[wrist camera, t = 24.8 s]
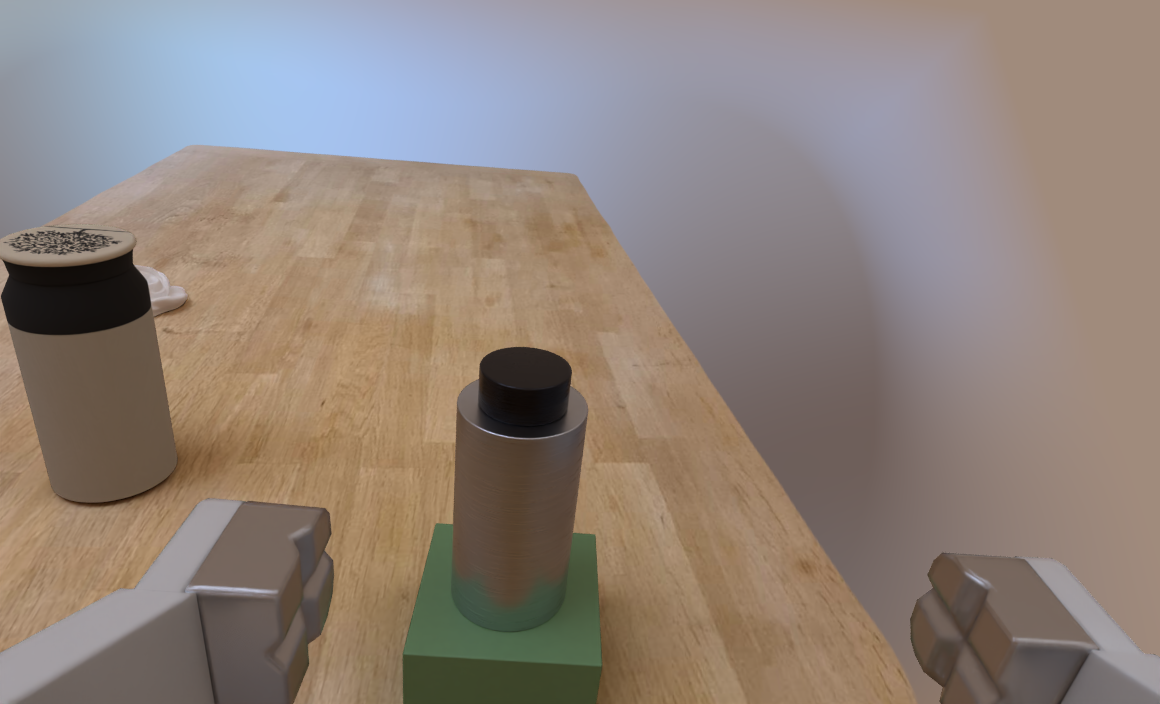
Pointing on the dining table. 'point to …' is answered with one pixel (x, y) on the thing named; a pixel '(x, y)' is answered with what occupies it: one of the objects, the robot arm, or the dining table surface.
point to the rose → (162, 291)
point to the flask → (516, 488)
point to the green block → (503, 642)
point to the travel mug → (89, 359)
